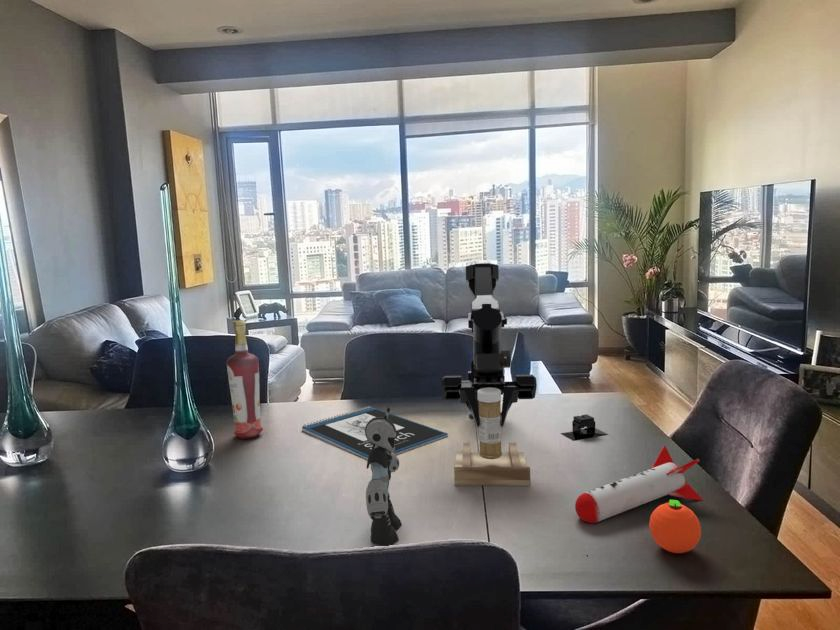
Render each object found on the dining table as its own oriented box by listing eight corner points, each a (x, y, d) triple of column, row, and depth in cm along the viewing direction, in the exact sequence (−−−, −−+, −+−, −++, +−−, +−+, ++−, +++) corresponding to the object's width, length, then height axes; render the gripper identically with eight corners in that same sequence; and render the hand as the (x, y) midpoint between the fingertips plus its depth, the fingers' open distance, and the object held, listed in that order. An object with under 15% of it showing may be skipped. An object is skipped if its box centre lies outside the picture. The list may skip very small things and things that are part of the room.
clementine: (646, 531, 91) (647, 488, 90) (695, 536, 89) (696, 492, 88) (650, 559, 83) (651, 512, 82) (704, 566, 81) (705, 517, 80)
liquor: (269, 436, 140) (260, 321, 136) (239, 443, 136) (229, 324, 132) (257, 428, 146) (248, 318, 142) (228, 435, 142) (218, 321, 138)
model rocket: (549, 493, 101) (573, 467, 93) (650, 458, 110) (679, 432, 103) (583, 555, 95) (611, 532, 87) (686, 512, 104) (719, 488, 97)
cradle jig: (456, 456, 123) (455, 443, 123) (523, 456, 122) (523, 442, 122) (454, 485, 110) (454, 470, 109) (530, 485, 108) (530, 469, 108)
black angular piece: (597, 428, 140) (597, 409, 139) (617, 437, 133) (617, 418, 132) (551, 435, 135) (551, 416, 135) (570, 446, 129) (570, 425, 128)
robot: (378, 503, 103) (373, 394, 100) (406, 503, 103) (401, 393, 100) (360, 567, 84) (352, 433, 81) (394, 567, 84) (387, 432, 81)
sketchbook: (374, 466, 122) (374, 456, 122) (300, 432, 144) (299, 424, 144) (448, 438, 136) (447, 429, 136) (370, 411, 158) (369, 404, 158)
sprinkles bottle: (501, 451, 118) (500, 386, 116) (502, 460, 113) (501, 393, 111) (478, 451, 118) (477, 386, 116) (479, 460, 114) (477, 393, 112)
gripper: (440, 337, 117) (439, 407, 108) (535, 335, 115) (542, 406, 106) (443, 365, 126) (442, 433, 117) (531, 364, 124) (537, 432, 115)
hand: (490, 426), depth 113 cm, fingers closed on sprinkles bottle, 4 cm apart
